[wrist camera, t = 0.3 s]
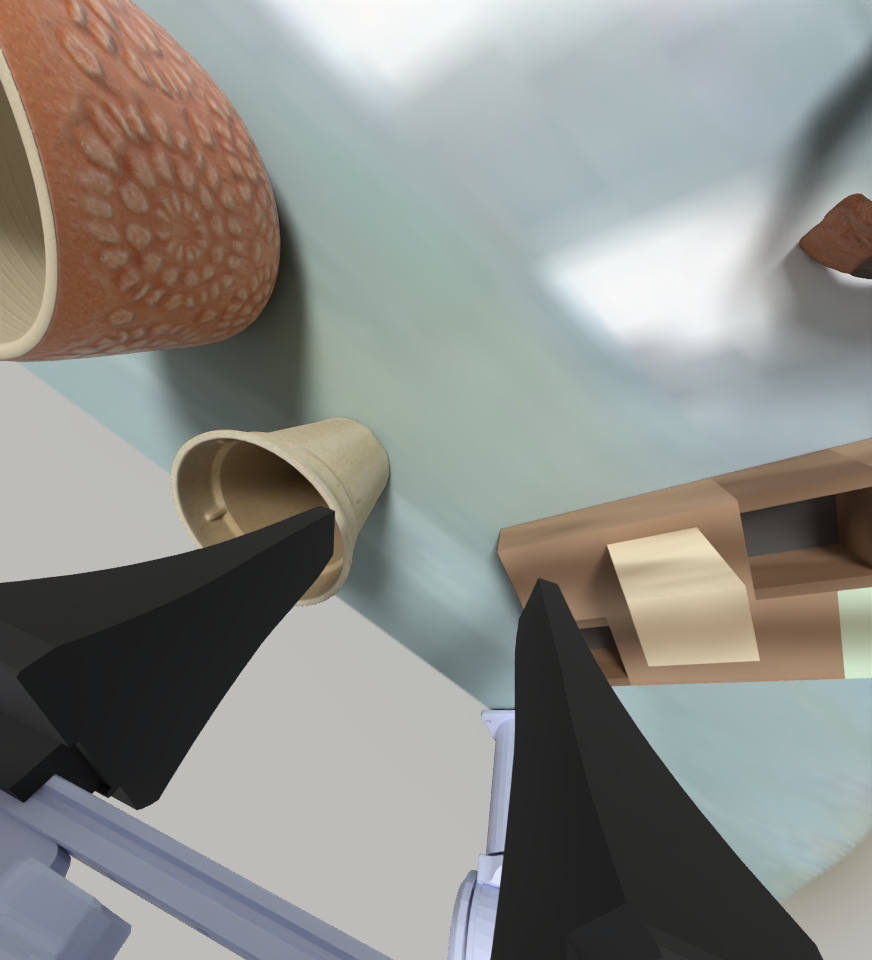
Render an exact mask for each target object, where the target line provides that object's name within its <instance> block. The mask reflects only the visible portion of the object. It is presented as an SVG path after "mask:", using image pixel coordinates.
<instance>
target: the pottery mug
mask: <svg viewBox="0 0 872 960" xmlns="http://www.w3.org/2000/svg"><path fill="white" fill-rule="evenodd" d="M800 246H801V248H802V249H803V250H804V251H806V252H807V254H808V255H809V256H810V257H811V258H812V259H814V260H816V261H818V262H820V263H822V264H823V265H824V266H826V267H829V268H832V269H835V270H838V271H840V272H842V273H848V274H851V275H852V276H855V277H859V278H865V279H872V201H870V200H869V199H867V198H866V197H865V196H864V195H862V194H853V195H850V196H848V197H846V198H845V199H843V200H842V201H841V202H839V203H838V204H837V205H836V206H835V207H834V208H833V209H832V210H830V211H829V212H828V213H827V214H826V216H825V217H824V219H823V220H822V221H821V222H820V223H819V224H818V225H816V226H815V227H814V228H812V229H811V230H810V231H809V232H808V233H807V234H806V235H805V236H803V237H802V238H801V240H800Z"/></svg>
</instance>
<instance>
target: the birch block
mask: <svg viewBox="0 0 872 960" xmlns="http://www.w3.org/2000/svg"><path fill="white" fill-rule="evenodd" d="M607 547H608V550H609V553H610V555H611V558H612V561H613V564H614V567H615V570H616V573H617V576H618V579H619V582H620V585H621V588H622V591H623V594H624V597H625V600H626V603H627V606H628V608H629V611H630V614H631V617H632V620H633V623H634V626H635V629H636V631H637V634H638V637H639V640H640V643H641V646H642V649H643V652H644V655H645V657H646V660H647V663H648V666H649V667H650V666H669V665H688V664H707V663H726V662H746V661H760V659H759V653H758V648H757V643H756V638H755V633H754V627H753V622H752V617H751V612H750V607H749V602H748V596H747V591H746V586H745V585H744V583H743V582H742V581H741V580H740V579H739V577H738V576H737V575H736V574H735V573H734V571H733V570H732V569H731V568H730V567H729V565H728V564H727V563H726V562H725V561H724V559H723V558H722V557H721V556H720V555H719V553H718V552H717V551H716V550H715V549H714V547H713V546H712V545H711V544H710V543H709V541H708V540H707V539H706V538H705V537H704V535H703V534H702V533H701V532H700V531H699V529H698V528H697V527H695V528H690V529H685V530H680V531H675V532H670V533H665V534H660V535H655V536H650V537H645V538H640V539H634V540H629V541H624V542H619V543H614V544H609V545H607Z"/></svg>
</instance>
